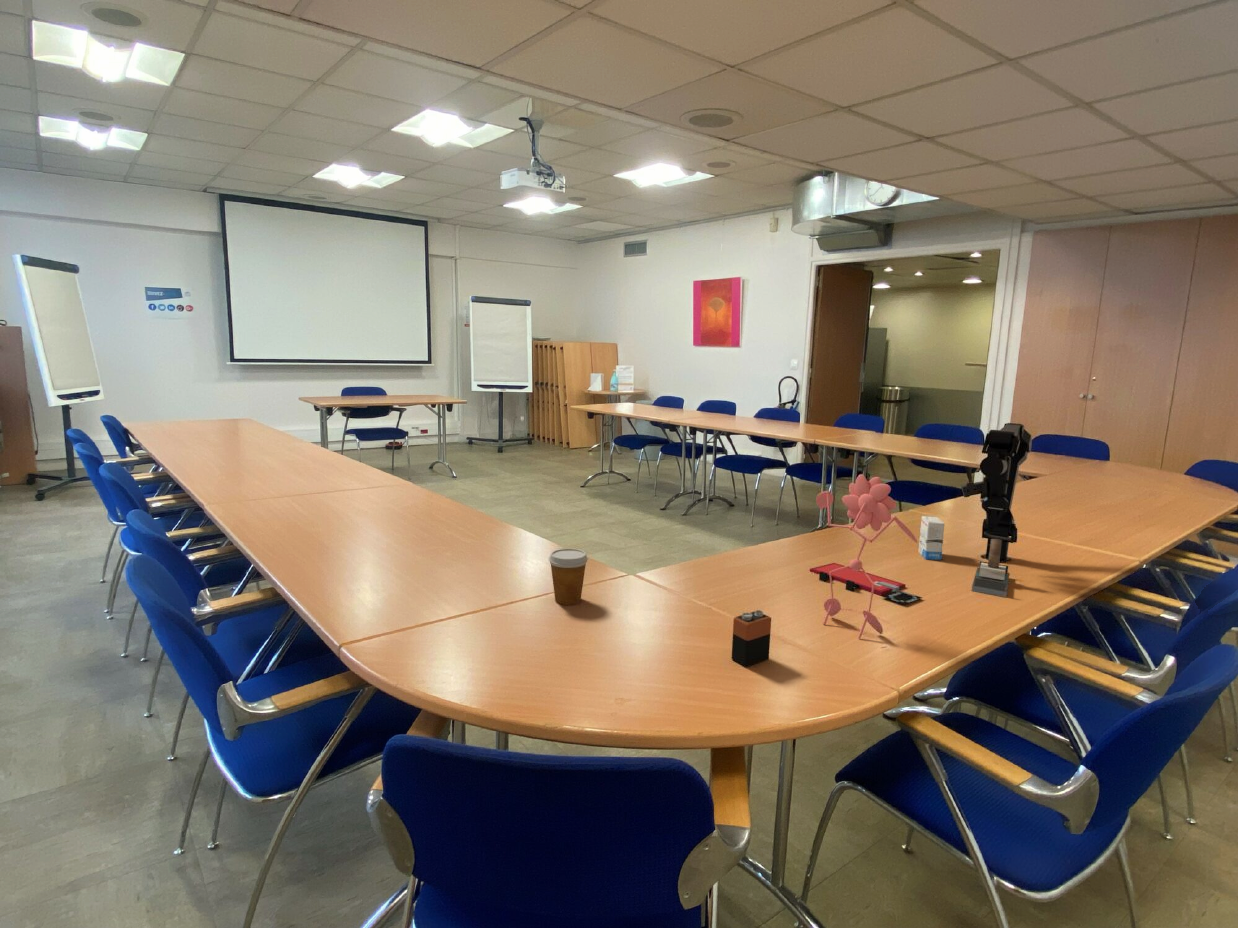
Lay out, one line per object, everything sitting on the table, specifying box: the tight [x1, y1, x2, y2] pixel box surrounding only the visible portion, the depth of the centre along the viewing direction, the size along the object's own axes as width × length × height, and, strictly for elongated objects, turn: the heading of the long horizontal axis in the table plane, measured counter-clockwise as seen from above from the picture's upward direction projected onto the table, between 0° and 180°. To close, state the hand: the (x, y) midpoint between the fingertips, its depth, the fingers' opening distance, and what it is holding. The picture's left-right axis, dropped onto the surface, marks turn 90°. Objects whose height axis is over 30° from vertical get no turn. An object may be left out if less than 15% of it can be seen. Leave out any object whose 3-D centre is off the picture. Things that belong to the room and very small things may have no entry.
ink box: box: [918, 515, 945, 561], centre depth 202 cm, size 9×5×12 cm, turn 168°
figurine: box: [815, 473, 918, 649], centre depth 147 cm, size 15×26×35 cm, turn 36°
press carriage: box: [979, 539, 1006, 580], centre depth 180 cm, size 5×6×10 cm
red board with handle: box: [809, 562, 923, 605], centre depth 176 cm, size 30×3×15 cm
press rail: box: [971, 561, 1010, 598], centre depth 178 cm, size 18×8×4 cm, turn 148°
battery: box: [731, 609, 772, 668], centre depth 131 cm, size 4×7×10 cm, turn 124°
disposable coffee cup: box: [548, 547, 589, 606], centre depth 160 cm, size 10×10×12 cm
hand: (989, 528), depth 187 cm, fingers open, 9 cm apart
